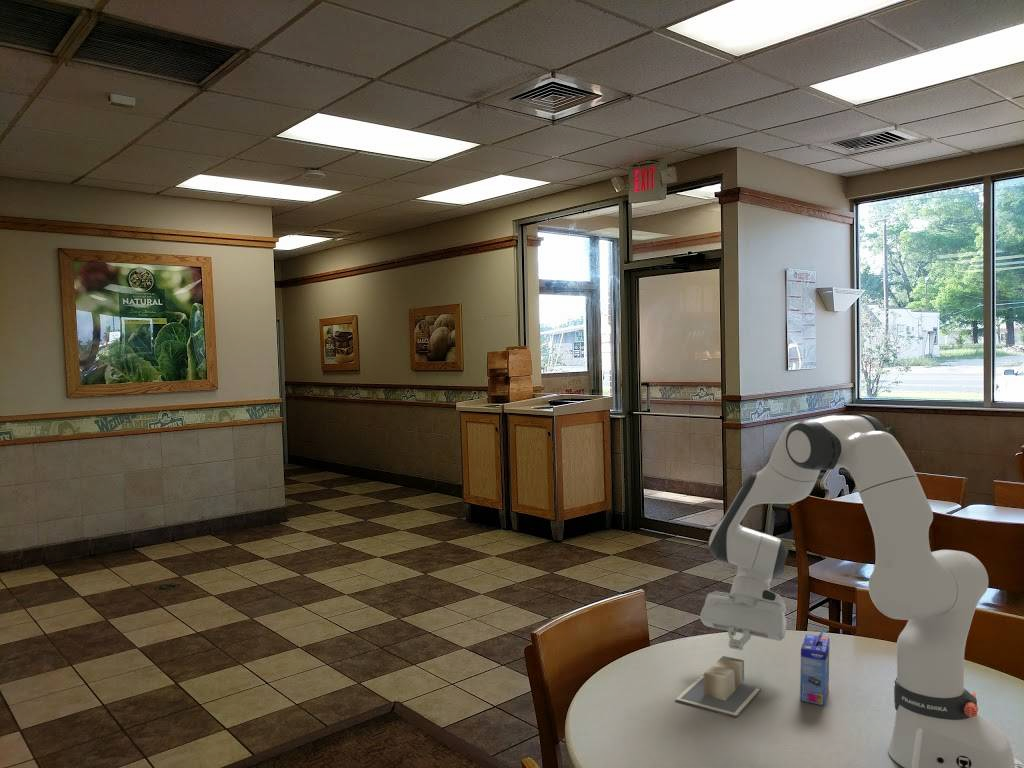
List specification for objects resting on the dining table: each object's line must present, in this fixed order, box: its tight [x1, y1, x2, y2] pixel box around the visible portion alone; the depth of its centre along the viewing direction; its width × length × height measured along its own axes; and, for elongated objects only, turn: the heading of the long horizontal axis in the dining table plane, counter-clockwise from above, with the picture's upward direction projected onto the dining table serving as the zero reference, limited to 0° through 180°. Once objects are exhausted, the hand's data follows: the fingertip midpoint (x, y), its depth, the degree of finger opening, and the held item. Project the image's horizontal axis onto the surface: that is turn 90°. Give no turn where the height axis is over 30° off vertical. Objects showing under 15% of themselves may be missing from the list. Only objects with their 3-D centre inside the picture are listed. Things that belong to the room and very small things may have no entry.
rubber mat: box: [674, 673, 762, 718], centre depth 170 cm, size 14×16×1 cm
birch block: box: [703, 655, 745, 701], centre depth 173 cm, size 5×5×12 cm
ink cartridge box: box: [799, 630, 830, 706], centre depth 169 cm, size 10×6×14 cm, turn 152°
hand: (735, 648), depth 179 cm, fingers closed
